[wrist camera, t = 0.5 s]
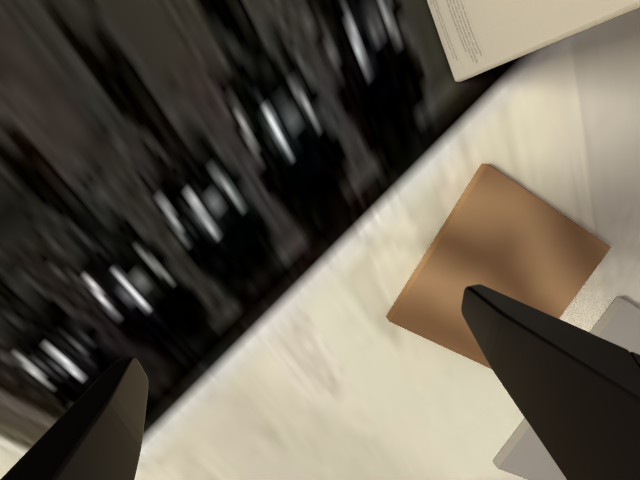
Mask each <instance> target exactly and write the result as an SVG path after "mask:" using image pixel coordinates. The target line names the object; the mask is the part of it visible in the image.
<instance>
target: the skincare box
mask: <svg viewBox="0 0 640 480" xmlns="http://www.w3.org/2000/svg"><path fill="white" fill-rule="evenodd" d="M427 2H428V5H429V8H430V11H431V14H432V16H433V19H434V22H435V25H436V28H437V31H438V34H439V37H440V40H441V42H442V45H443V48H444V51H445V54H446V57H447V59H448V62H449V65H450V68H451V71H452V74H453V76H454V79H455V81H456V82H461V81H463V80H466V79H468V78H471V77H473V76H476V75H478V74H480V73H483V72H485V71H487V70H490V69H492V68H494V67H497V66H499V65H502V64H504V63H507V62H509V61H511V60H514V59H516V58H519V57H521V56H524V55H526V54H528V53H531V52H533V51H536V50H538V49H541V48H543V47H545V46H548V45H550V44H553V43H555V42H557V41H560V40H562V39H565V38H567V37H570V36H572V35H574V34H577V33H579V32H582V31H584V30H587V29H589V28H591V27H594V26H596V25H599V24H601V23H604V22H606V21H608V20H611V19H613V18H616V17H618V16H620V15H623V14H625V13H628V12H630V11H633V10H635V9H637V8H640V0H427Z"/></svg>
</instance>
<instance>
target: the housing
mask: <svg viewBox="0 0 640 480" xmlns="http://www.w3.org/2000/svg"><path fill="white" fill-rule="evenodd" d="M590 333H592V334H594V335H596V336H598V337H600V338H603V339H605V340H607V341H609V342H612V343H614V344H616V345H618V346H621V347H623V348H625V349H627V350H629V352H634V353H637V354H639V355H640V309H639V308H637V307H635V306H634V305H632V304H631V303H629V302H627V301H626V300H623V299H621V298H619V297H616V298H615V300H614V301H613V302H612V304H611V305H610V306H609V308H608V309H607V310H606V312H605V313H604V314H603V316H602V317H601V318H600V320H599V321H598V322H597V324H596V325H595V326H594V327H593V329H592V330H591V331H590ZM493 462H494V464H495V465H496V467H497V468H498V469H501V470H504V471H506V472H509V473H512V474H515V475H517V476H520V477H523V478H526V479H528V480H567V479H566V478H565V476H564V475H563V473H562V472H561V470H560V469H559V467H558V466H557V464H556V463H555V461H554V460H553V458H552V457H551V456H550V454H549V453H548V451H547V450H546V448H545V447H544V445H543V444H542V442H541V441H540V439H539V438H538V436H537V435H536V433H535V432H534V430H533V429H532V427H531V426H530V424H529V423H528V421H527V420H526V419H524V420H523V421H522V423H521V424H520V425H519V427H518V428H517V429H516V431H515V432H514V433H513V435H512V436H511V437H510V439H509V440H508V441H507V443H506V444H505V445H504V447H503V448H502V449H501V451H500V452H499V453H498V455H497V456H496V457H495V459H494V460H493Z"/></svg>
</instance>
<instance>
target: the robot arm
mask: <svg viewBox="0 0 640 480" xmlns="http://www.w3.org/2000/svg"><path fill="white" fill-rule="evenodd" d="M461 312H462V315H463V317H464V319H465V321H466V323H467V325H468V327H469V329H470V330H471V332H472V334H473V336H474V338H475V340H476V342H477V343H478V345H479V347H480V349H481V351H482V353H483V355H484V356H485V358H486V360H487V362H488V363H489V365H490V366H491V368H492V370H493V371H494V373H495V374H496V376H497V377H498V379H499V380H500V381H501V383H502V384H503V386H504V387H505V389H506V390H507V392H508V393H509V395H510V396H511V398H512V399H513V401H514V402H515V404H516V405H517V407H518V408H519V410H520V411H521V413H522V414H523V416H524V417H525V419H526V420H527V421H528V423H529V424H530V426H531V427H532V429H533V430H534V432H535V433H536V435H537V436H538V438H539V439H540V441H541V442H542V444H543V445H544V447H545V448H546V450H547V451H548V453H549V454H550V456H551V457H552V458H553V460H554V461H555V463H556V464H557V466H558V467H559V469H560V470H561V472H562V473H563V475H564V476H565V478H566V479H567V480H640V355H639V354H637V353H634V352H629V350H627V349H625V348H623V347H621V346H618V345H616V344H614V343H612V342H609V341H607V340H605V339H603V338H600V337H598V336H596V335H594V334H592V333H589V332H587V331H585V330H583V329H580V328H578V327H576V326H574V325H571V324H569V323H567V322H565V321H562V320H560V319H558V318H556V317H553V316H551V315H549V314H547V313H544V312H542V311H540V310H538V309H536V308H533V307H531V306H529V305H527V304H524V303H522V302H520V301H518V300H515V299H513V298H511V297H509V296H506V295H504V294H502V293H500V292H497V291H495V290H493V289H491V288H488V287H486V286H484V285H481V284H475V285H471V286H467V287H466V288H465V289H464V293H463V299H462V305H461ZM147 393H148V378H147V375H146V374H145V372H144V370H143V369H142V367H141V365H140V363H139V362H138V360H137V359H136V358H135V357H128V358H123V359H119V360H117V361H115V362H114V363H113V364H112V365H111V366H110V367H109V368H108V369H107V370H106V371H105V372H104V373H103V374H102V375H101V376H100V377H99V378H98V379H97V380H96V381H95V382H94V384H93V385H92V386H91V387H90V388H89V389H88V390H87V391H86V392H85V393H84V394H83V395H82V396H81V397H80V398H79V399H78V400H77V401H76V402H75V403H74V404H73V405H72V406H71V407H70V408H69V409H68V410H67V411H66V412H65V413H64V414H63V416H62V417H61V418H60V419H59V420H58V421H57V422H56V423H55V424H54V425H53V426H52V427H51V428H50V429H49V430H48V431H47V432H46V433H45V434H44V435H43V436H42V437H41V438H40V439H39V440H38V441H37V442H36V443H35V444H34V445H33V446H32V448H31V449H30V450H29V451H28V452H27V453H26V454H25V455H24V456H23V457H22V458H21V459H20V460H19V461H18V462H17V463H16V464H15V465H14V466H13V467H12V468H11V469H10V470H9V471H8V472H7V473H6V474H5V475H4V476H3V477H2V478H1V480H134V479H135V474H136V470H137V465H138V461H139V456H140V451H141V445H142V438H143V429H144V420H145V411H146V402H147Z"/></svg>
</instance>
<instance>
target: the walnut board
mask: <svg viewBox="0 0 640 480" xmlns="http://www.w3.org/2000/svg"><path fill="white" fill-rule="evenodd" d="M610 248H611V247H610V246H608V245H607V244H605V243H604V242H602V241H601V240H599V239H598V238H596V237H595V236H593V235H592V234H591V233H589V232H588V231H586V230H585V229H583V228H582V227H580V226H579V225H577V224H576V223H574V222H573V221H571V220H570V219H568V218H567V217H565V216H564V215H562V214H561V213H559V212H558V211H557V210H555V209H554V208H552V207H551V206H549V205H548V204H546V203H545V202H543V201H542V200H540V199H539V198H537V197H536V196H534V195H533V194H531V193H530V192H528V191H527V190H525V189H524V188H523V187H521V186H520V185H518V184H517V183H515V182H514V181H512V180H511V179H509V178H508V177H506V176H505V175H503V174H502V173H500V172H499V171H497V170H496V169H494V168H493V167H491V166H490V165H489V164H481V166H480V168H479V169H478V171H477V172H476V174H475V175H474V177H473V179H472V180H471V182H470V183H469V185H468V187H467V188H466V190H465V191H464V193H463V195H462V196H461V198H460V199H459V201H458V203H457V204H456V206H455V207H454V209H453V211H452V212H451V214H450V215H449V217H448V219H447V220H446V222H445V223H444V225H443V226H442V228H441V230H440V231H439V233H438V234H437V236H436V238H435V239H434V241H433V242H432V244H431V246H430V247H429V249H428V250H427V252H426V254H425V255H424V257H423V258H422V260H421V262H420V263H419V265H418V266H417V268H416V270H415V271H414V273H413V274H412V276H411V277H410V279H409V281H408V282H407V284H406V285H405V287H404V289H403V290H402V292H401V293H400V295H399V297H398V298H397V300H396V301H395V303H394V305H393V306H392V308H391V309H390V311H389V313H388V314H387V316H386V317H387V319H388V320H389V321H390V322H392V323H394V324H396V325H398V326H400V327H403V328H405V329H407V330H409V331H411V332H413V333H415V334H418V335H420V336H422V337H424V338H426V339H428V340H431V341H433V342H435V343H437V344H439V345H441V346H443V347H446V348H448V349H450V350H452V351H454V352H456V353H458V354H461V355H463V356H465V357H467V358H469V359H471V360H473V361H476V362H478V363H480V364H482V365H484V366H486V367H489V368H491V366H490V365H489V363H488V362H487V360H486V358H485V356H484V355H483V353H482V351H481V349H480V347H479V345H478V343H477V342H476V340H475V338H474V336H473V334H472V332H471V330H470V329H469V327H468V325H467V323H466V321H465V319H464V317H463V315H462V312H461V305H462V299H463V293H464V289H465V288H466V287H467V286H471V285H475V284H481V285H484V286H486V287H488V288H491V289H493V290H495V291H497V292H500V293H502V294H504V295H506V296H509V297H511V298H513V299H515V300H518V301H520V302H522V303H524V304H527V305H529V306H531V307H533V308H536V309H538V310H540V311H542V312H544V313H547V314H549V315H551V316H553V317H556V318H558V319H559V318H560V316H561V315H562V314H563V312H564V311H565V310H566V308H567V307H568V305H569V304H570V303H571V301H572V300H573V299H574V297H575V296H576V295H577V293H578V292H579V290H580V289H581V288H582V286H583V285H584V284H585V282H586V281H587V279H588V278H589V277H590V275H591V274H592V273H593V271H594V270H595V269H596V267H597V266H598V264H599V263H600V262H601V260H602V259H603V258H604V256H605V255H606V253H607V252H608V251H609V249H610ZM491 369H492V368H491Z"/></svg>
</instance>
